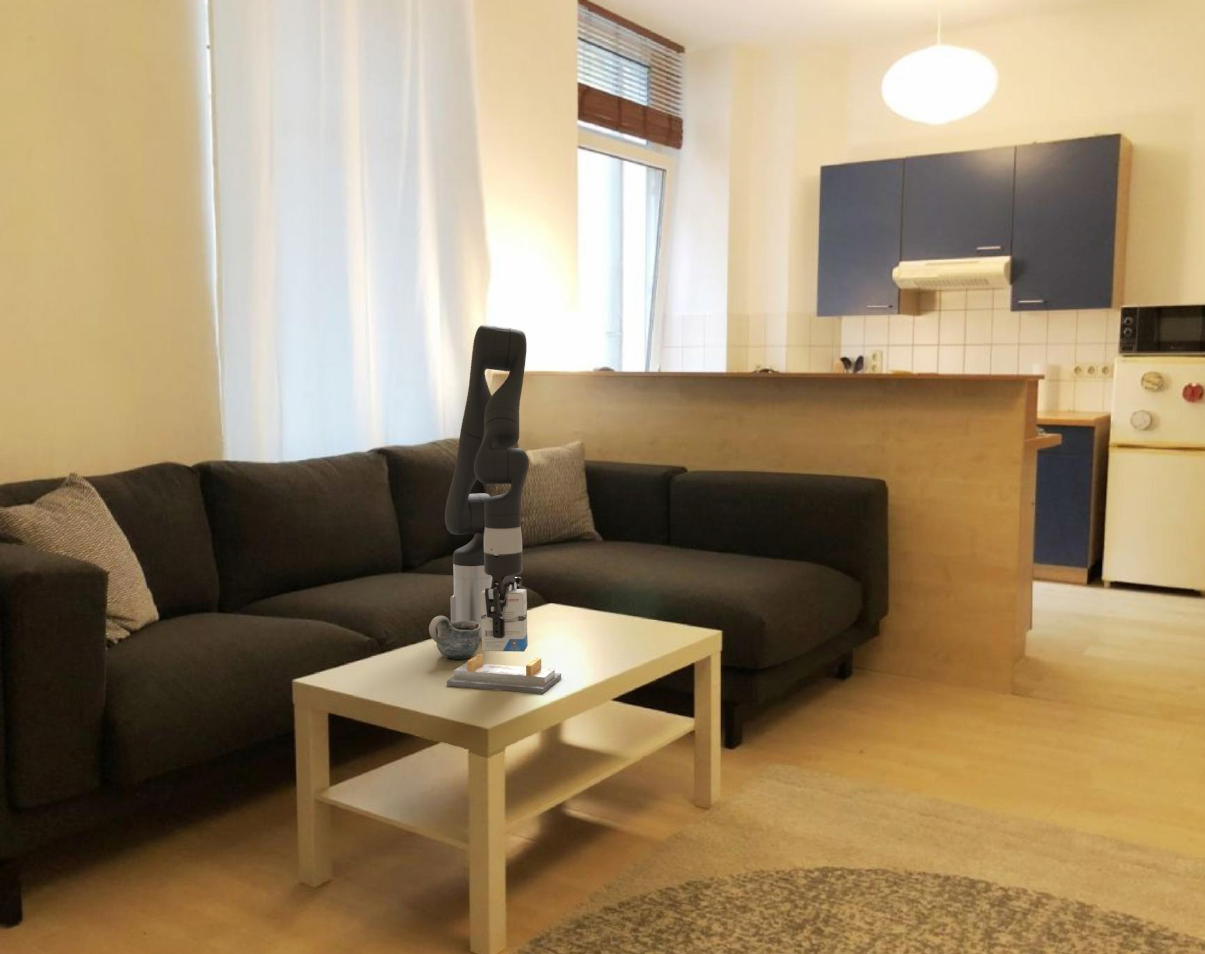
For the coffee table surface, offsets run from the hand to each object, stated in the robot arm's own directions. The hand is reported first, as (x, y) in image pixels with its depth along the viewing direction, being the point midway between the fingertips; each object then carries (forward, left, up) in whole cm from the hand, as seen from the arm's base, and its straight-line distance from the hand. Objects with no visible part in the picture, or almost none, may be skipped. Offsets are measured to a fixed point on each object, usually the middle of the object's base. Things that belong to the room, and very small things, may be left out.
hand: (504, 633), depth 220 cm
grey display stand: (0, 0, -10) cm, 10 cm away
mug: (-17, +14, -10) cm, 24 cm away
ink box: (0, 0, -3) cm, 3 cm away
